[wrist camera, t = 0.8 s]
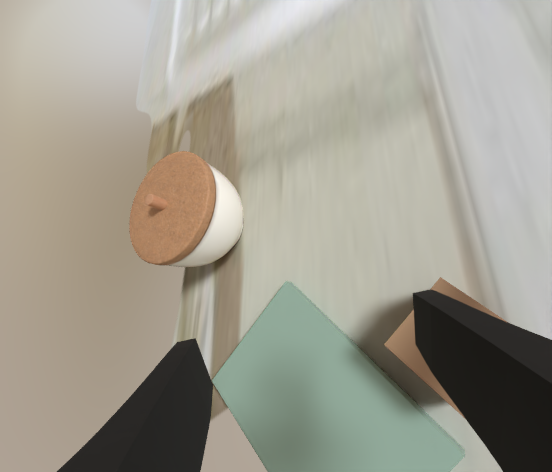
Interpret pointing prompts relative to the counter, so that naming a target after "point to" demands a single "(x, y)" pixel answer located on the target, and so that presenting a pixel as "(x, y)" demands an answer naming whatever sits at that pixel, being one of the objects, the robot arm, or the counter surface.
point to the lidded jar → (185, 213)
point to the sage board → (324, 399)
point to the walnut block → (407, 349)
